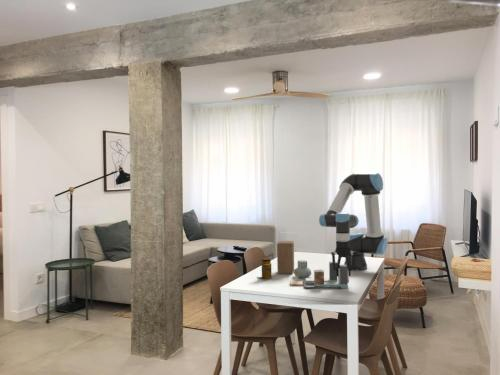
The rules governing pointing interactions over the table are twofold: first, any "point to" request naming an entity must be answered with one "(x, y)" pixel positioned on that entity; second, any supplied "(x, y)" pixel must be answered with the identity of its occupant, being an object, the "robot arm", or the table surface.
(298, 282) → the cork trivet
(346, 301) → the table surface
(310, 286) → the lane rails
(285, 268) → the wooden block
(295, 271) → the air freshener
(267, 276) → the condiment
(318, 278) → the walnut block
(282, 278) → the table surface
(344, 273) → the grey l-shaped piece
